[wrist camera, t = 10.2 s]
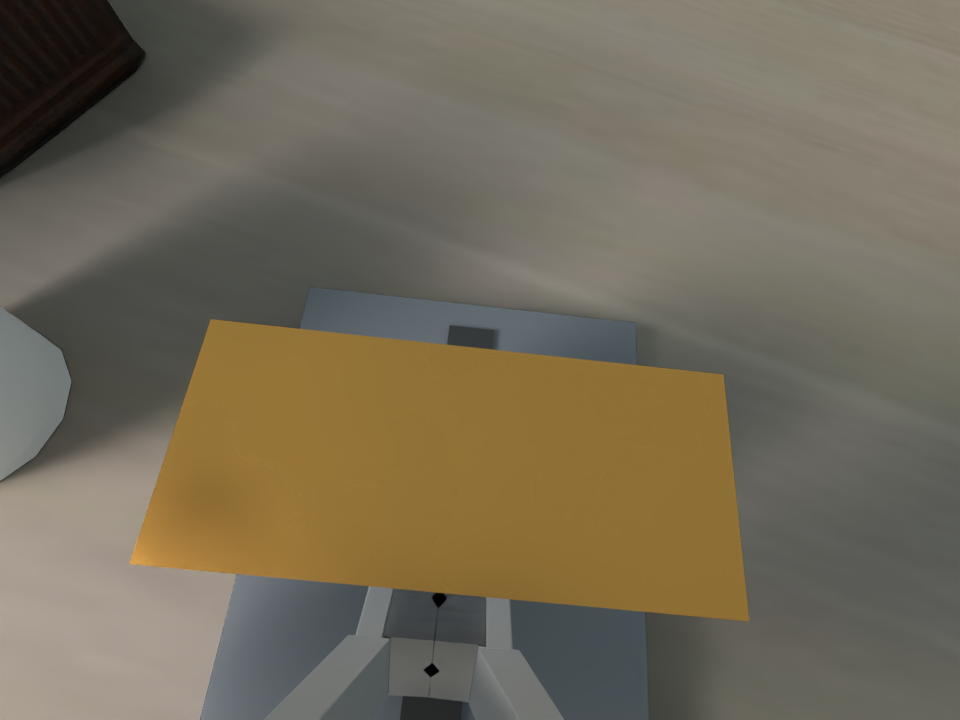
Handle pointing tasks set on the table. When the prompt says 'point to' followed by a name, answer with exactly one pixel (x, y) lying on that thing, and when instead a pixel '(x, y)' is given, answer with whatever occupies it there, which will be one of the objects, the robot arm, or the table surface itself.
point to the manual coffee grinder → (56, 68)
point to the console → (337, 607)
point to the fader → (451, 473)
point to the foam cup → (28, 392)
